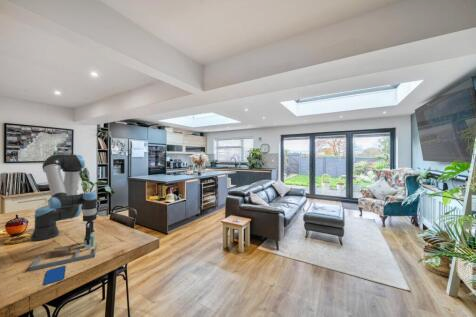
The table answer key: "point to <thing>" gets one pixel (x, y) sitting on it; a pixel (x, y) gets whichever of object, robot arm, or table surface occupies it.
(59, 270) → the smartphone
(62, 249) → the walnut block
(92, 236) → the teal block
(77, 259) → the slot rack
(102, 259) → the table surface
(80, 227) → the table surface
